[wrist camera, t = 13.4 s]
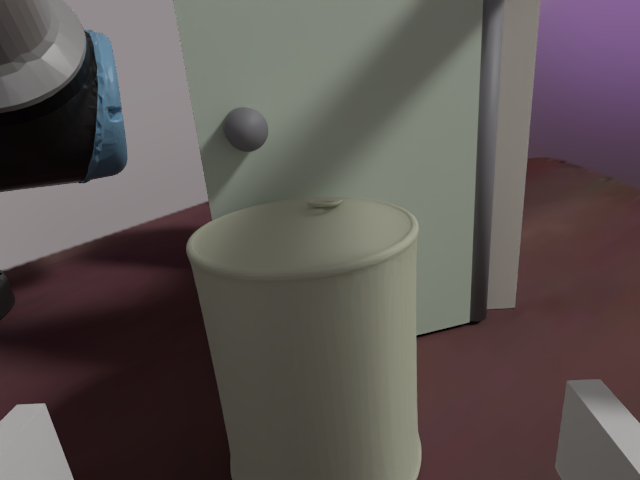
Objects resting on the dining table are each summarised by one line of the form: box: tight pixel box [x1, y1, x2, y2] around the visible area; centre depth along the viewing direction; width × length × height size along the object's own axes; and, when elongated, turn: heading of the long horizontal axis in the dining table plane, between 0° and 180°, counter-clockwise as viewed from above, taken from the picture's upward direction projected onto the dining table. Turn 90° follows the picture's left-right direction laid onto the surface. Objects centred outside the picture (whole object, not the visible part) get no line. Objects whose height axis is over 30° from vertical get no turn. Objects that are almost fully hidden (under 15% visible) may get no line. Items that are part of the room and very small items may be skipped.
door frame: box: [487, 0, 540, 309], centre depth 20 cm, size 2×27×25 cm, turn 177°
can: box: [186, 197, 421, 480], centre depth 19 cm, size 9×9×12 cm
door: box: [173, 0, 505, 335], centre depth 25 cm, size 5×18×21 cm, turn 106°
